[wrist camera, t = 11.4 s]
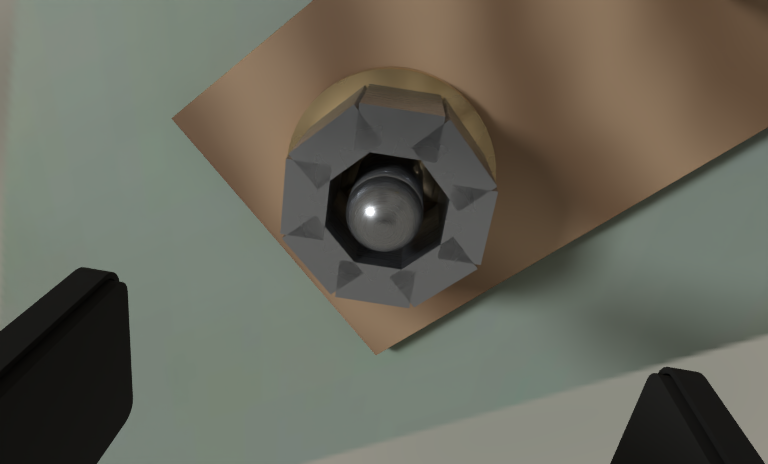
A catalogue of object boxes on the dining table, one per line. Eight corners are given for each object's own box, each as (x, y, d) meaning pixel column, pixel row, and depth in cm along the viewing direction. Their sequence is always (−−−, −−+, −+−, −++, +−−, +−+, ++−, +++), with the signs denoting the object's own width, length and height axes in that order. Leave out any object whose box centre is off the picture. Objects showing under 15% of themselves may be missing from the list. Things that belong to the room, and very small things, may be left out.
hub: (415, 19, 21) (414, 29, 15) (532, 194, 23) (568, 258, 18) (249, 148, 23) (195, 197, 18) (371, 294, 26) (357, 379, 20)
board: (799, -401, 17) (989, -597, 11) (943, 9, 21) (1135, 16, 15) (181, 113, 24) (109, 150, 18) (377, 343, 28) (366, 430, 22)
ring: (313, 74, 21) (291, 92, 17) (497, 103, 21) (513, 127, 17) (298, 242, 24) (275, 287, 20) (460, 267, 24) (468, 317, 20)
